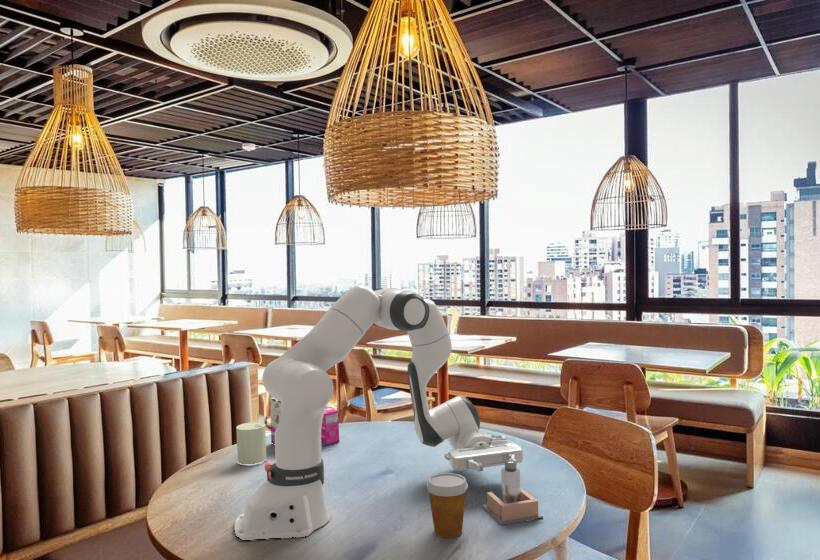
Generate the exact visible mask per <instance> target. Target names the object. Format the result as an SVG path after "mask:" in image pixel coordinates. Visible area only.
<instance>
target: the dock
mask: <svg viewBox="0 0 820 560" xmlns="http://www.w3.org/2000/svg"><path fill="white" fill-rule="evenodd" d="M520 493H521V501H519V502H512V503H506V504H504V503H503V502H502V499H501V498H499V497H498V496H497V495H495V493H494V492H493V491H489V492H486V502H487V503H484V504H482V505H481V507H482V508H483V509H484V510H485V511H486V513H488V514H489V515H490V516H491V517H492V518H493V519H494V520H495V521H496V522H497V523H498V524H499V525H500V526H505V525H511V524H517V523H522V521H524V522H528V521H527V520H530V521H534V520H533V519H536V520H539V519H538V518H542V519H544V515H542V514H541V513H540V512H539V500H538V499H536V498H535V497H534V496H532V495H531V494H530V493H529V492H527V491H526V490H525V489H524V488H523V487H520Z"/></svg>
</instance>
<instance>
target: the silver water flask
mask: <svg viewBox="0 0 820 560" xmlns="http://www.w3.org/2000/svg"><path fill="white" fill-rule="evenodd" d="M500 472H501V501H502V502H503V503H504V504H506V503H512V502H519V501H521V493H520V488H521V470H520V468H518V467H517V466H516V461H514V460H506V461H505V465H504V467H502V468H501V470H500Z"/></svg>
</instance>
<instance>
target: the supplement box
mask: <svg viewBox="0 0 820 560" xmlns="http://www.w3.org/2000/svg"><path fill="white" fill-rule="evenodd" d="M338 442H339V443H340V425H339V410H337V409H334V408H331V407H328V408H325V411H324V415H323V420H322V427H321V443H322V444H321V445H323V444H324V446H325V445H328V446H330V445H329V444H332V445H335V444H334V443H336V444H339V443H338Z"/></svg>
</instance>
